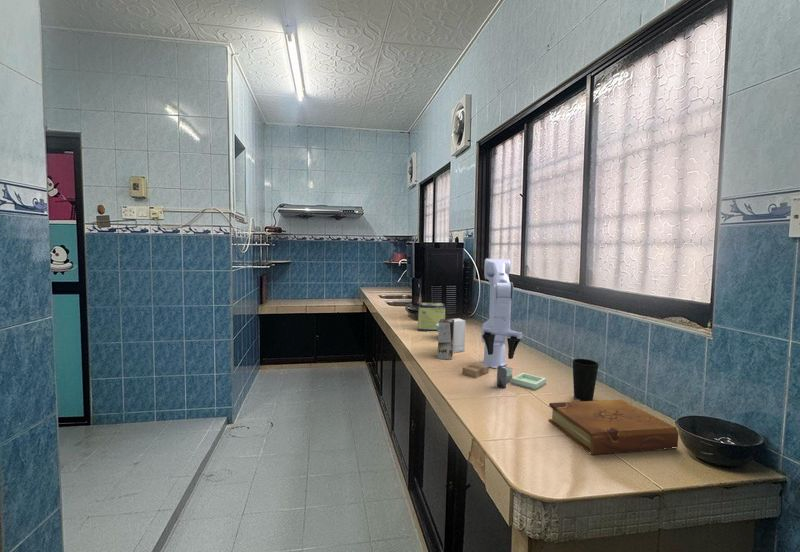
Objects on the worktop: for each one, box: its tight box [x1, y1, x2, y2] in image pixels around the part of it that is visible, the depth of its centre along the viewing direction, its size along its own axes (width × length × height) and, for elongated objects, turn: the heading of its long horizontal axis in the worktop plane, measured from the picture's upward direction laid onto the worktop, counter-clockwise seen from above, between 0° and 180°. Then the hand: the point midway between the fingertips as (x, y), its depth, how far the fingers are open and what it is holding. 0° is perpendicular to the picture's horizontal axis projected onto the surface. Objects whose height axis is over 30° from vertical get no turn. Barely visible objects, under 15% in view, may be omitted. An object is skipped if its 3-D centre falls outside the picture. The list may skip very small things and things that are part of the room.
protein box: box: [417, 302, 446, 332], centre depth 229 cm, size 10×16×16 cm
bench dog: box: [505, 365, 513, 385], centre depth 140 cm, size 4×3×5 cm
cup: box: [572, 358, 599, 402], centre depth 126 cm, size 8×8×12 cm
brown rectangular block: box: [461, 362, 490, 379], centre depth 149 cm, size 9×6×3 cm, turn 137°
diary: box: [547, 399, 679, 455], centre depth 101 cm, size 23×19×6 cm
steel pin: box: [496, 365, 508, 389], centre depth 135 cm, size 3×3×7 cm
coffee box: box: [437, 318, 454, 361], centre depth 171 cm, size 9×6×16 cm
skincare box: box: [451, 317, 466, 353], centre depth 182 cm, size 8×6×15 cm
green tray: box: [510, 372, 547, 391], centre depth 139 cm, size 9×9×2 cm
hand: (500, 356), depth 134 cm, fingers open, 7 cm apart
